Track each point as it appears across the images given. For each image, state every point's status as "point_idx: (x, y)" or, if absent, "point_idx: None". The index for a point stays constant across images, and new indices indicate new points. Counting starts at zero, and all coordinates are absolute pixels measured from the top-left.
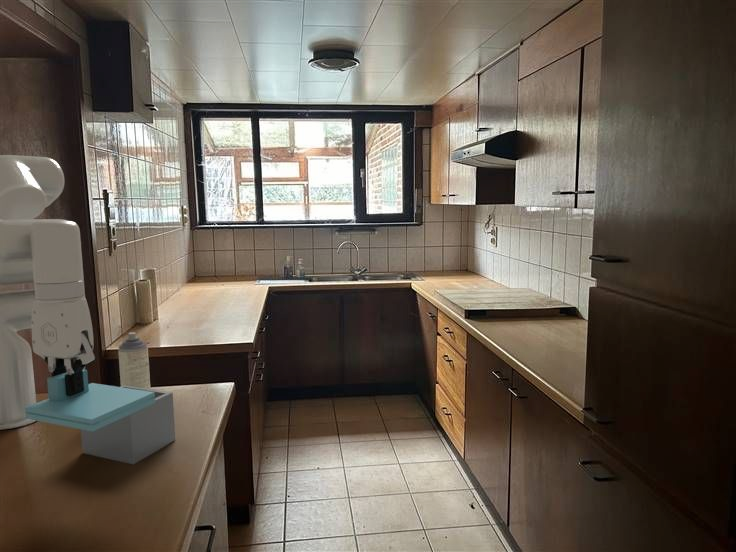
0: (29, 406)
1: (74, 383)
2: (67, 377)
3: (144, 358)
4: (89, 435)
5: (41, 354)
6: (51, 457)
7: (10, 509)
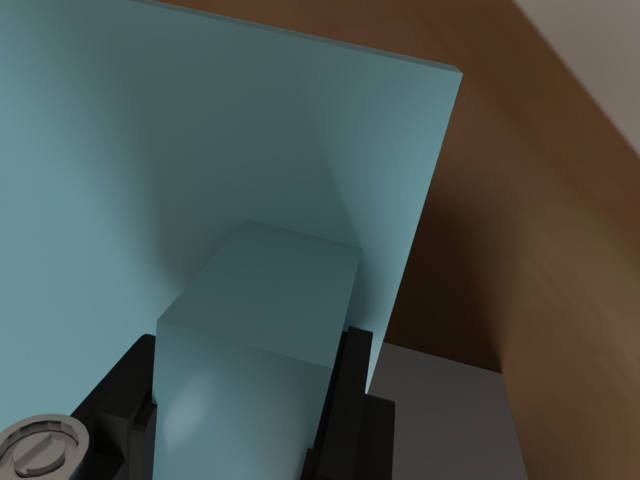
0: (428, 96)
1: (115, 368)
2: (111, 392)
3: None
4: (470, 409)
5: None
6: (598, 344)
7: (506, 12)
